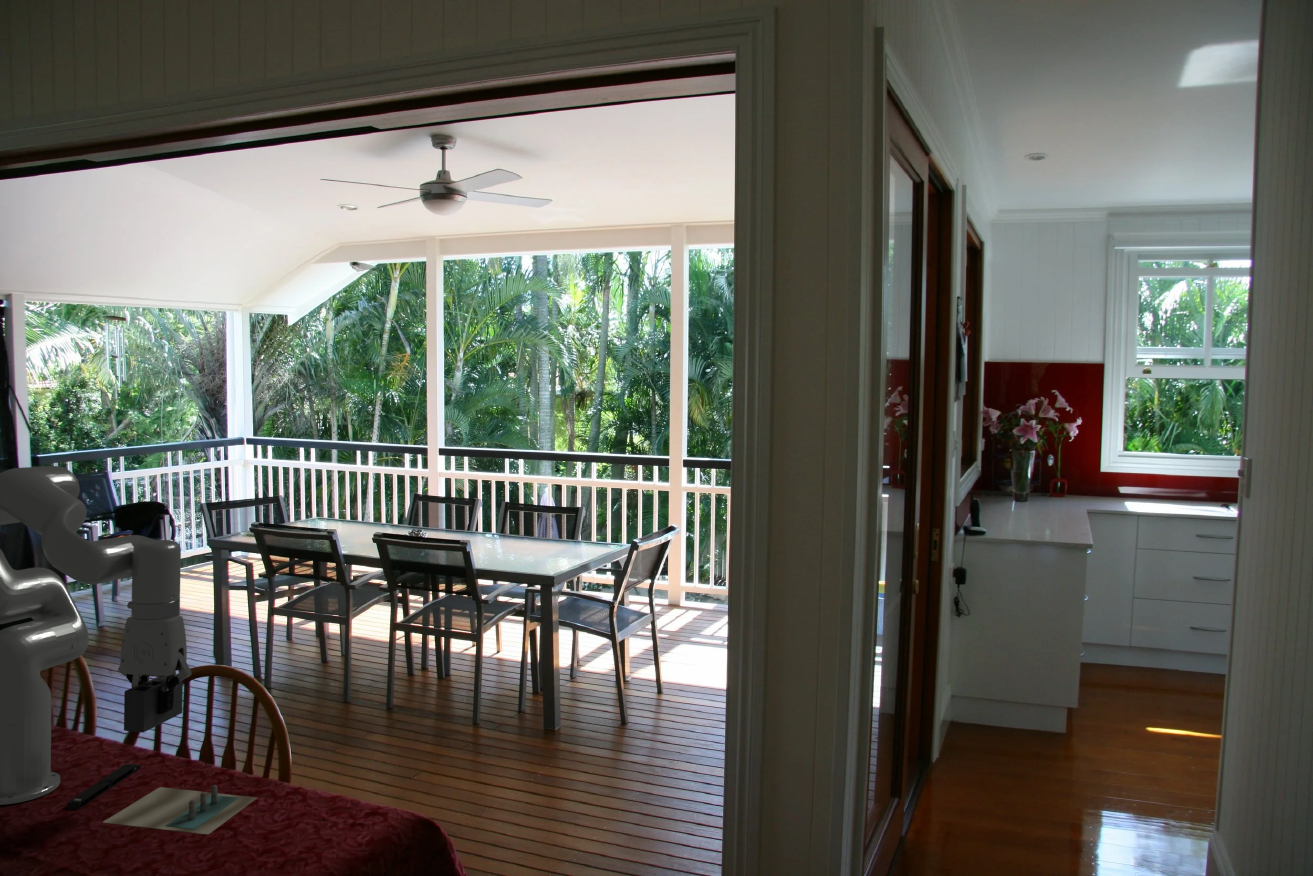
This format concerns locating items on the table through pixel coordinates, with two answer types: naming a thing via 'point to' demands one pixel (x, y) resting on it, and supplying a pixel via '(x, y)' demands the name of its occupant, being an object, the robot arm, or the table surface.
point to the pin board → (182, 810)
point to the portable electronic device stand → (102, 786)
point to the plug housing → (148, 706)
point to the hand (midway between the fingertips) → (154, 709)
